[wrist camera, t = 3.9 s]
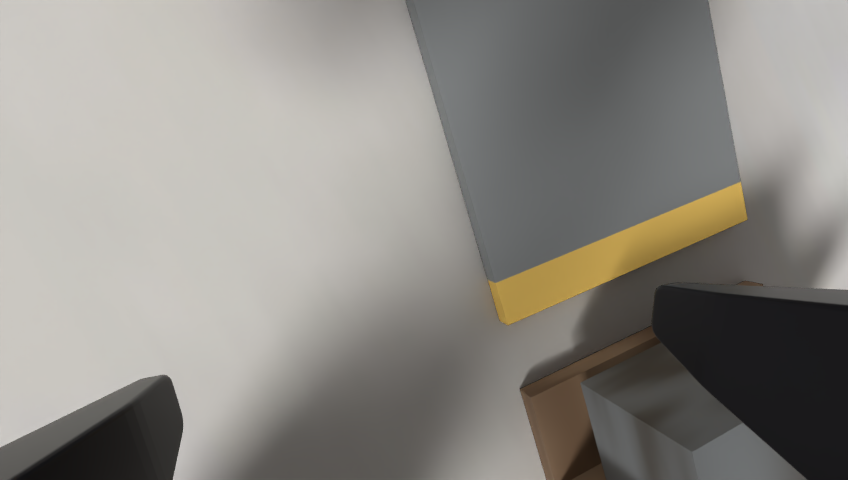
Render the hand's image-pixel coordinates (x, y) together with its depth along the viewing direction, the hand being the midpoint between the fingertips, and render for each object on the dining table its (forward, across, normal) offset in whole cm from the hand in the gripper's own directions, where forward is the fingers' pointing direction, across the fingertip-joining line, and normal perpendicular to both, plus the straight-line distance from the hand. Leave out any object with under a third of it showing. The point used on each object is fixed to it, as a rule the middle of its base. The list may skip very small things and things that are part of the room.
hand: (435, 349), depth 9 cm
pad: (+14, +11, +1) cm, 17 cm away
